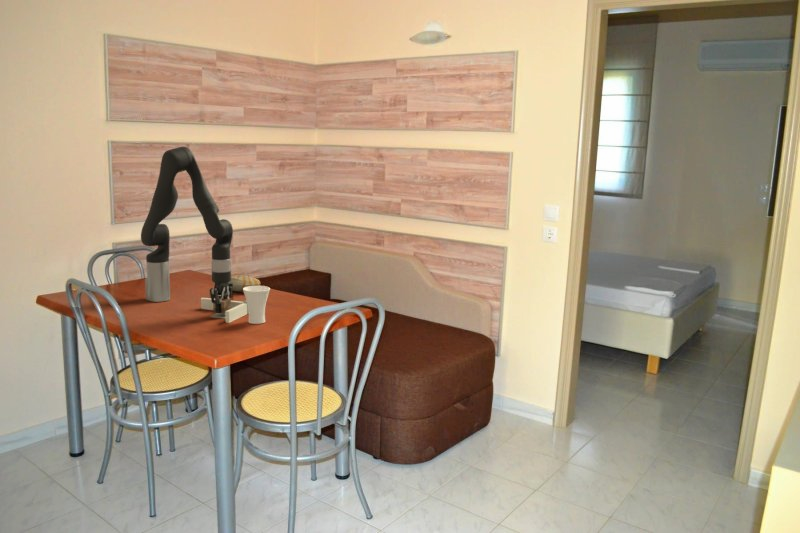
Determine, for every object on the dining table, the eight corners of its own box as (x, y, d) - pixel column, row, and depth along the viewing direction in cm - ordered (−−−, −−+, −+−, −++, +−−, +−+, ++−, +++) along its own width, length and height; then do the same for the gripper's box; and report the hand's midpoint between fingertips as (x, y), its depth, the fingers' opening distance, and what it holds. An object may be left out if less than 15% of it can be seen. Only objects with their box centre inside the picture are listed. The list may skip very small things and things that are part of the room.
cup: (257, 327, 254) (256, 292, 251) (237, 322, 259) (236, 288, 256) (276, 321, 262) (275, 288, 260) (256, 316, 268) (256, 284, 265)
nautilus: (213, 289, 315) (240, 286, 326) (237, 295, 300) (265, 292, 311) (213, 273, 314) (240, 270, 325) (237, 277, 299) (265, 275, 310)
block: (224, 314, 265) (224, 302, 264) (213, 312, 266) (213, 300, 265) (231, 311, 269) (230, 299, 268) (220, 310, 271) (219, 298, 270)
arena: (180, 317, 264) (180, 304, 263) (203, 307, 279) (203, 295, 278) (229, 322, 258) (229, 310, 257) (249, 312, 273) (249, 300, 272)
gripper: (220, 273, 257) (221, 316, 260) (238, 267, 270) (239, 307, 273) (203, 272, 259) (204, 314, 262) (222, 265, 272) (223, 306, 275)
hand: (222, 310), depth 268 cm, fingers closed on block, 5 cm apart
